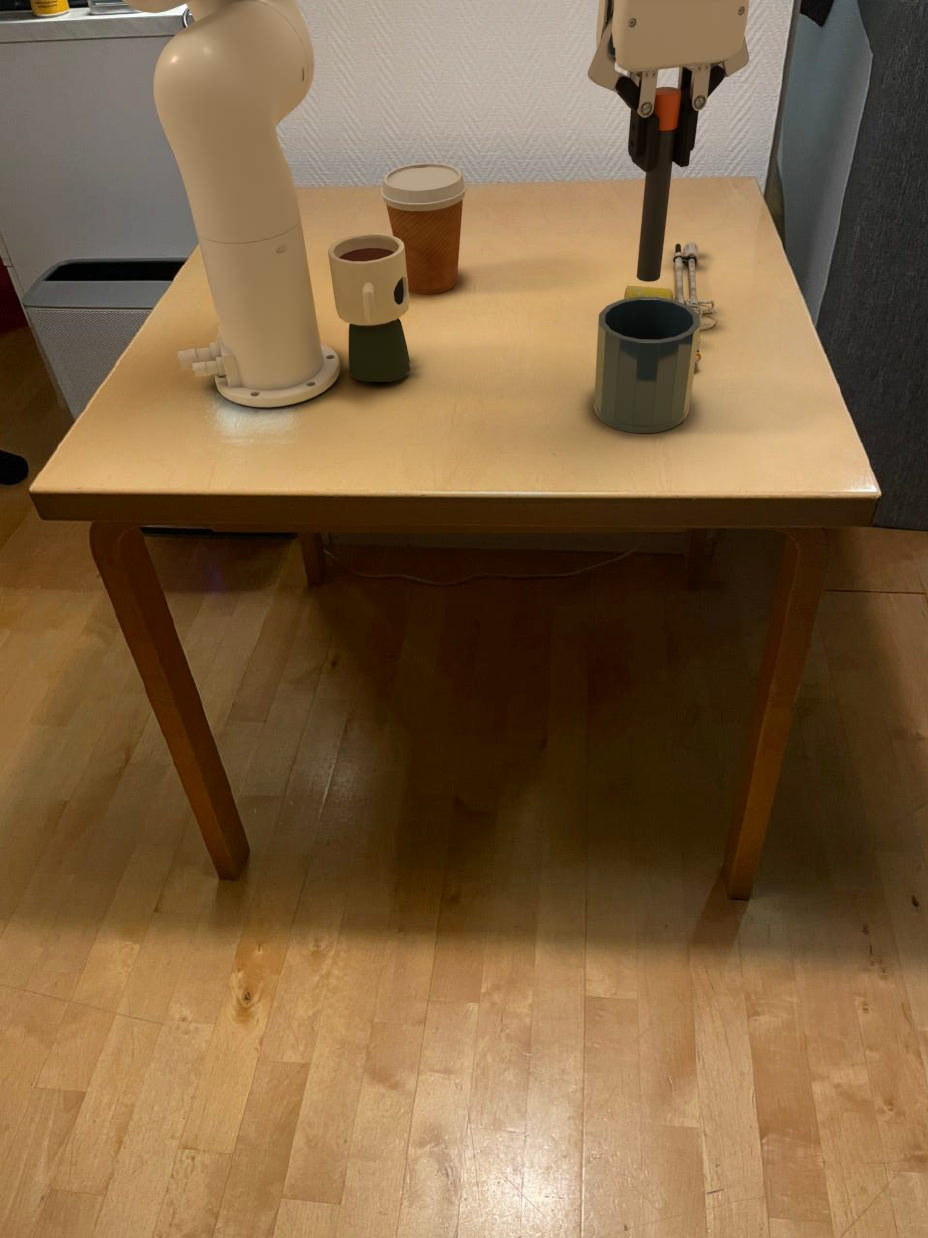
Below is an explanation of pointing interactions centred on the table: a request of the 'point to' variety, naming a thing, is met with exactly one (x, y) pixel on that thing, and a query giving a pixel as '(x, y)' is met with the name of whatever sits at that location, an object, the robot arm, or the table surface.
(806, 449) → the table surface
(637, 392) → the pencil cup
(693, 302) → the flamethrower
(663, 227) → the marker
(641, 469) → the table surface
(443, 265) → the disposable coffee cup
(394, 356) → the character mug
